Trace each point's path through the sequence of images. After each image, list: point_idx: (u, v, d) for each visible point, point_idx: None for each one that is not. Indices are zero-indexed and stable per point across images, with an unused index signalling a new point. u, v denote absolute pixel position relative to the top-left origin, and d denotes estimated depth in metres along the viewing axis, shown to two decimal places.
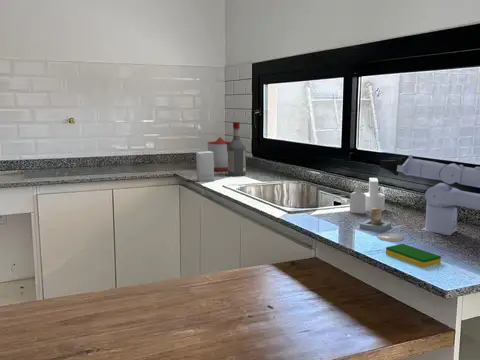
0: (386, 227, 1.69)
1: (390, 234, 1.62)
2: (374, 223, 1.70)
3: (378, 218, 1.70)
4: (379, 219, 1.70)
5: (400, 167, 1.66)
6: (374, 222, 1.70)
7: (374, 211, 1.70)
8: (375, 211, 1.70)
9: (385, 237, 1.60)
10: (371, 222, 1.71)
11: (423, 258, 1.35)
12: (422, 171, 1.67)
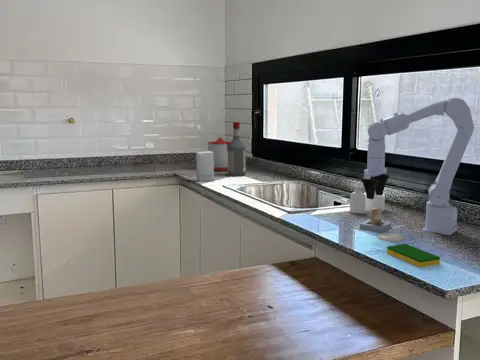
0: (386, 227, 1.69)
1: (390, 234, 1.62)
2: (374, 223, 1.70)
3: (378, 218, 1.70)
4: (379, 219, 1.70)
5: (365, 175, 1.67)
6: (374, 222, 1.70)
7: (374, 211, 1.70)
8: (375, 211, 1.70)
9: (385, 237, 1.60)
10: (371, 222, 1.71)
11: (421, 258, 1.35)
12: (376, 156, 1.69)
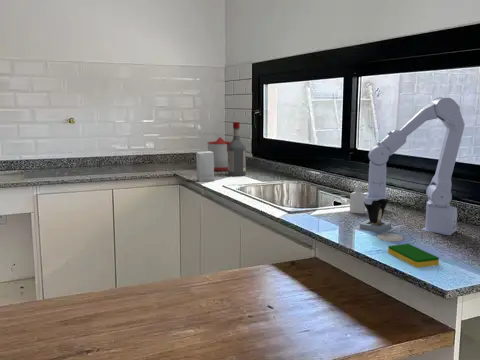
0: (386, 227, 1.69)
1: (390, 234, 1.62)
2: (374, 223, 1.70)
3: (378, 218, 1.70)
4: (379, 219, 1.70)
5: (366, 200, 1.65)
6: None
7: None
8: None
9: (385, 237, 1.60)
10: None
11: (418, 258, 1.35)
12: (379, 181, 1.67)
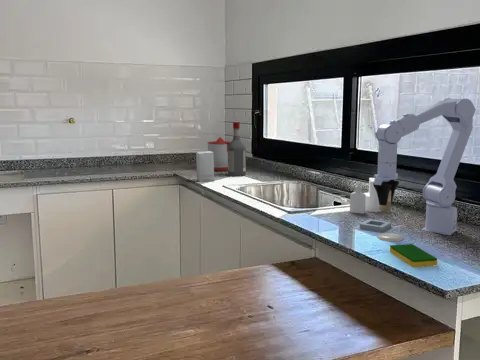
0: (386, 227, 1.69)
1: (390, 234, 1.62)
2: (383, 205, 1.62)
3: (388, 200, 1.61)
4: (388, 201, 1.61)
5: (375, 181, 1.56)
6: None
7: None
8: None
9: (385, 237, 1.60)
10: None
11: (415, 258, 1.35)
12: (393, 160, 1.58)
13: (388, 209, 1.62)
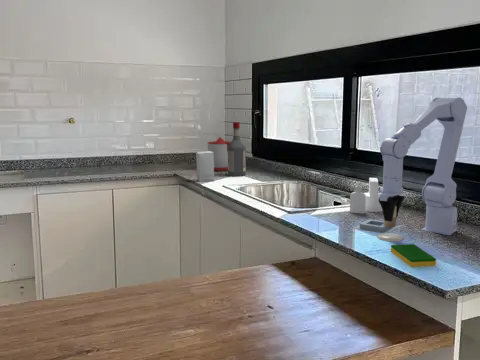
0: (386, 227, 1.69)
1: (390, 234, 1.62)
2: (388, 221, 1.58)
3: (393, 215, 1.57)
4: (393, 217, 1.57)
5: (381, 197, 1.52)
6: None
7: None
8: None
9: (385, 237, 1.60)
10: None
11: (413, 258, 1.35)
12: (400, 175, 1.54)
13: (393, 225, 1.58)
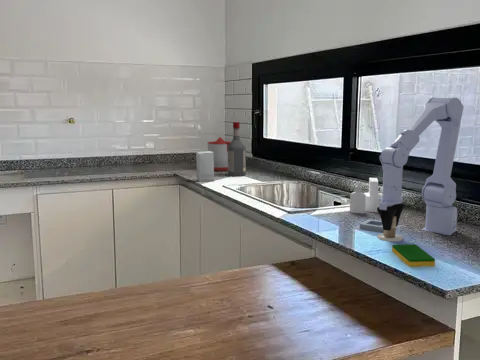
0: None
1: None
2: (388, 232, 1.58)
3: (392, 226, 1.58)
4: (393, 228, 1.58)
5: (381, 206, 1.53)
6: (388, 231, 1.58)
7: None
8: None
9: (385, 237, 1.60)
10: (384, 231, 1.59)
11: (412, 258, 1.36)
12: (399, 184, 1.55)
13: (393, 236, 1.59)
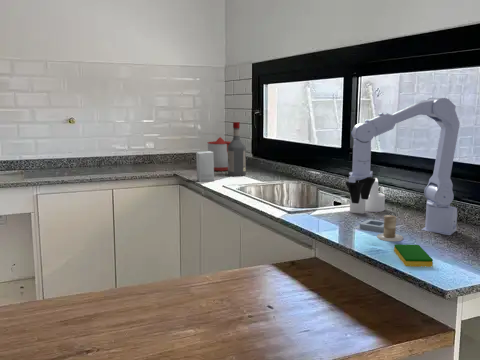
0: None
1: None
2: (388, 232, 1.58)
3: (392, 226, 1.58)
4: (393, 228, 1.58)
5: (350, 178, 1.60)
6: (388, 231, 1.58)
7: (388, 219, 1.58)
8: (388, 219, 1.58)
9: (385, 237, 1.60)
10: (384, 231, 1.59)
11: (409, 257, 1.36)
12: (365, 159, 1.62)
13: (393, 236, 1.59)
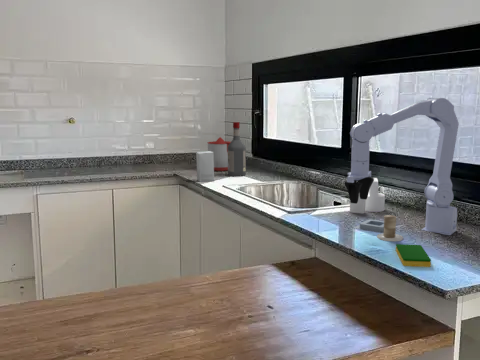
0: None
1: None
2: (388, 232, 1.58)
3: (392, 226, 1.58)
4: (393, 228, 1.58)
5: (348, 178, 1.61)
6: (388, 231, 1.58)
7: (388, 219, 1.58)
8: (388, 219, 1.58)
9: (385, 237, 1.60)
10: (384, 231, 1.59)
11: (407, 257, 1.36)
12: (363, 159, 1.62)
13: (393, 236, 1.59)
